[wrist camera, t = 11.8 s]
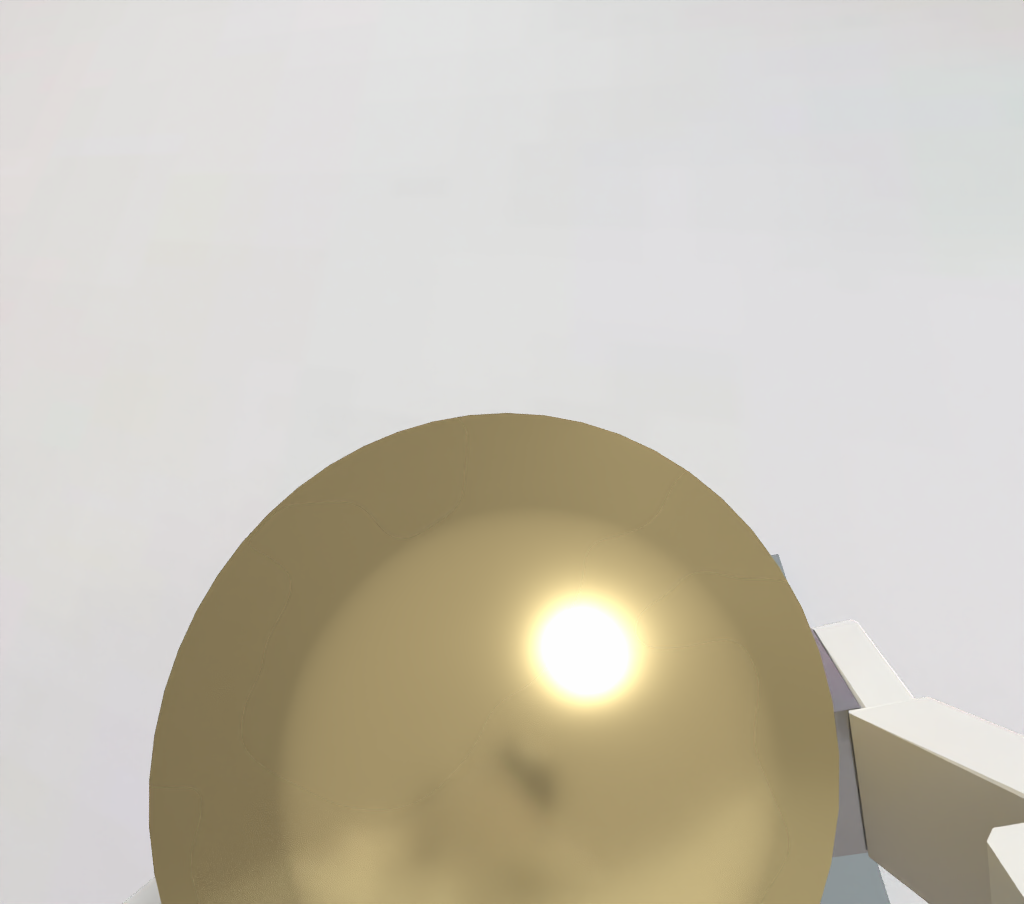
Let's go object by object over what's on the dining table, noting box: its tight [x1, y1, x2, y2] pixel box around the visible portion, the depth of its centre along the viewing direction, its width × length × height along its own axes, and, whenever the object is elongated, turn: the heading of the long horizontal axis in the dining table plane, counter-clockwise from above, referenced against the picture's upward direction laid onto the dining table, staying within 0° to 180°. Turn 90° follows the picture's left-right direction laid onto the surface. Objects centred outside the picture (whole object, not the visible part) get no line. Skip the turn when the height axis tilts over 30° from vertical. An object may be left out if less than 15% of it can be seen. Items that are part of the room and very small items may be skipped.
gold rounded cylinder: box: [149, 413, 839, 904], centre depth 10 cm, size 4×4×12 cm
